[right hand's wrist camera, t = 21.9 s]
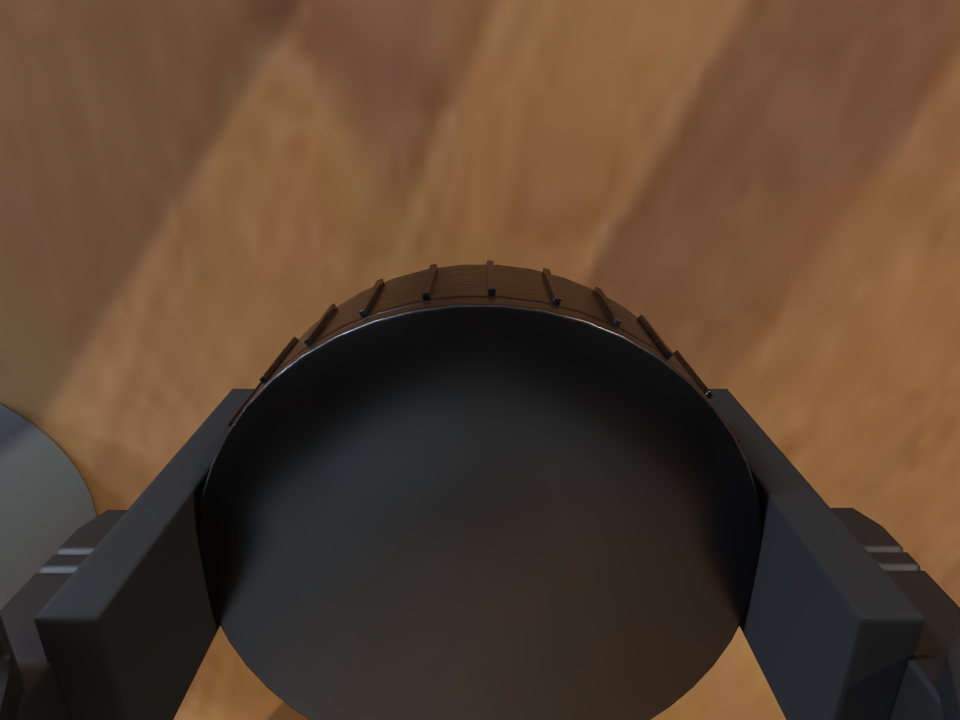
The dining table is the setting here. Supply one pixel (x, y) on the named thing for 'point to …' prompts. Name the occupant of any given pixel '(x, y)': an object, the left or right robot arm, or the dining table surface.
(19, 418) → the jar
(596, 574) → the lid
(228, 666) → the dining table surface
